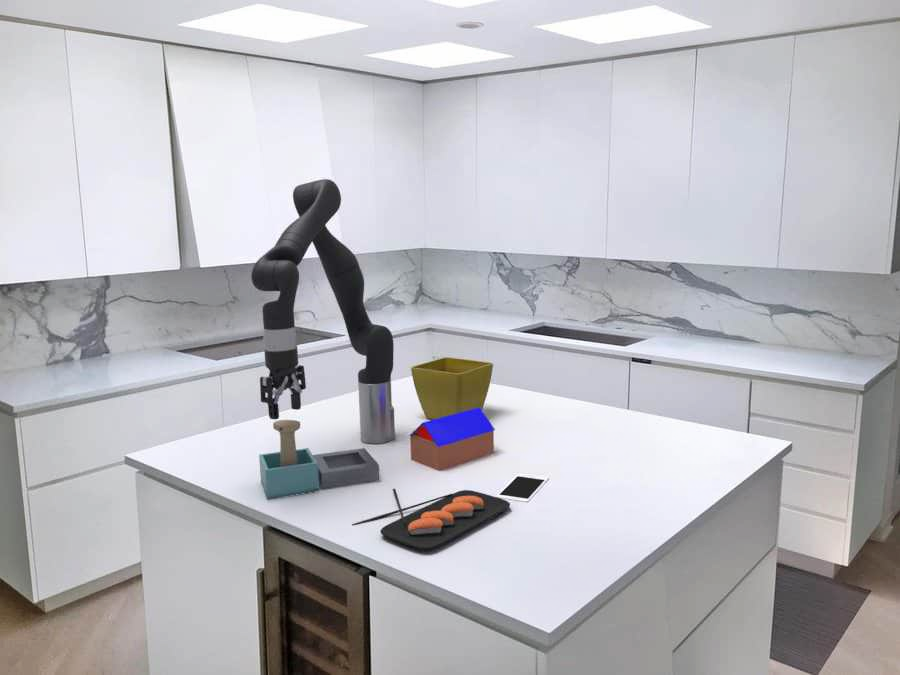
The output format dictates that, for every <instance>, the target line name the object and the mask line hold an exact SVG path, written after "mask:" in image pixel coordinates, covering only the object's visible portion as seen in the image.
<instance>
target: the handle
mask: <svg viewBox="0 0 900 675" xmlns="http://www.w3.org/2000/svg"><path fill="white" fill-rule="evenodd" d="M272 425H273V426H272V427H273V430H276V431H277V432H278V433H279V435H280V436H279V437H280V442H279V443H280V445H279V446H280V447H279V448H280V449H279V450H280V451H279V452H280V460H281V461H280V462H281V467H285V466H293V465H297V464H298V462H297V453H296V450H297V447H296V446H297V445H296V437H295V434H296V433H295V432H296V431H298V430H300V428H301V421H298V420H294V419H280V420H275V421H274V422H273V423H272Z"/></svg>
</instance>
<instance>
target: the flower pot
mask: <svg viewBox="0 0 900 675" xmlns="http://www.w3.org/2000/svg"><path fill="white" fill-rule="evenodd" d="M493 369H494V363H493V362H490V361H489V362H488V361H482V360H481V361H480V360H473V359H465V358H457V357H449V356H445V357H441V358H438V359H434V360H430V361H427V362H423V363H419V364H416V365H412V366H411V367H410V371H411V377H412V381H413V385H414V388H415V391H416V396H417V398H418V402H419V404H420V406H421V409H422V411H423V415H424V416H425V418H426V419H429V420H434V419H438V418H442V417H446V416H449V415H453V414H457V413H460V412H464V411H468V410H472V409H475V408H479V407H480V409H481V410H482V411H483V409H484V405H485V402H486V400H487V396H488V392H489V389H490V385H491V380H492V374H493Z"/></svg>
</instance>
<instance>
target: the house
mask: <svg viewBox="0 0 900 675" xmlns="http://www.w3.org/2000/svg"><path fill="white" fill-rule="evenodd" d="M494 431H496V429H495V427H494V426H493V424H492V423H491V421H489V419H488V418H487V416H486V414H485V413H484V412H483V409H482V410H481V409H480V407H479V408H475V409H472V410H468V411H464V412H460V413H457V414H453V415H449V416H446V417H442V418H438V419H430V420H428V421H423V422H422V423H421V424H419V426H417V428H416V429H414V430H413V431H412V433H410V434H409V437H410V461H413V462H415V463H418V464H420V465H423V466H425V467H428V468H431V469H433V470H436V471H438V472H439V471H442V470H446V469H449V468H452V467H455V466H459V465H462V464H463V463H468V462H471V461H474V460H476V459H479V458H482V457H486V456H488V455H491V454H494V453H495V447H494V445H495V444H494V443H495V441H494V440H495V439H494V437H495V436H494V434H495V433H494Z"/></svg>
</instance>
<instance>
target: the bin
mask: <svg viewBox="0 0 900 675" xmlns="http://www.w3.org/2000/svg"><path fill="white" fill-rule="evenodd" d="M296 453H297V462H298V464H297V465H293V466H285V467H281V462H280V461H281V460H280V451H275V452H268V453H261V454H258V457H259V474H260V475H259V476H260V483H261V486H262V489H263V491H264V494H265V497H266V500H272V498H273V499H279V498H278V497H280V498H286V497H291V495H293V496H297V495H296V494H299V495H303V494H302V493H306V494H310V493H309V492H312V493H316V492H315V491H319V492H320V484H319V481H318V463H317V462H316V460H315V458H314V457H313V455H314V454H313V453H312V452H311V450H310V448H309V447H306V448H300V449H299V448H298V449H297V448H296ZM285 496H286V497H285Z"/></svg>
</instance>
